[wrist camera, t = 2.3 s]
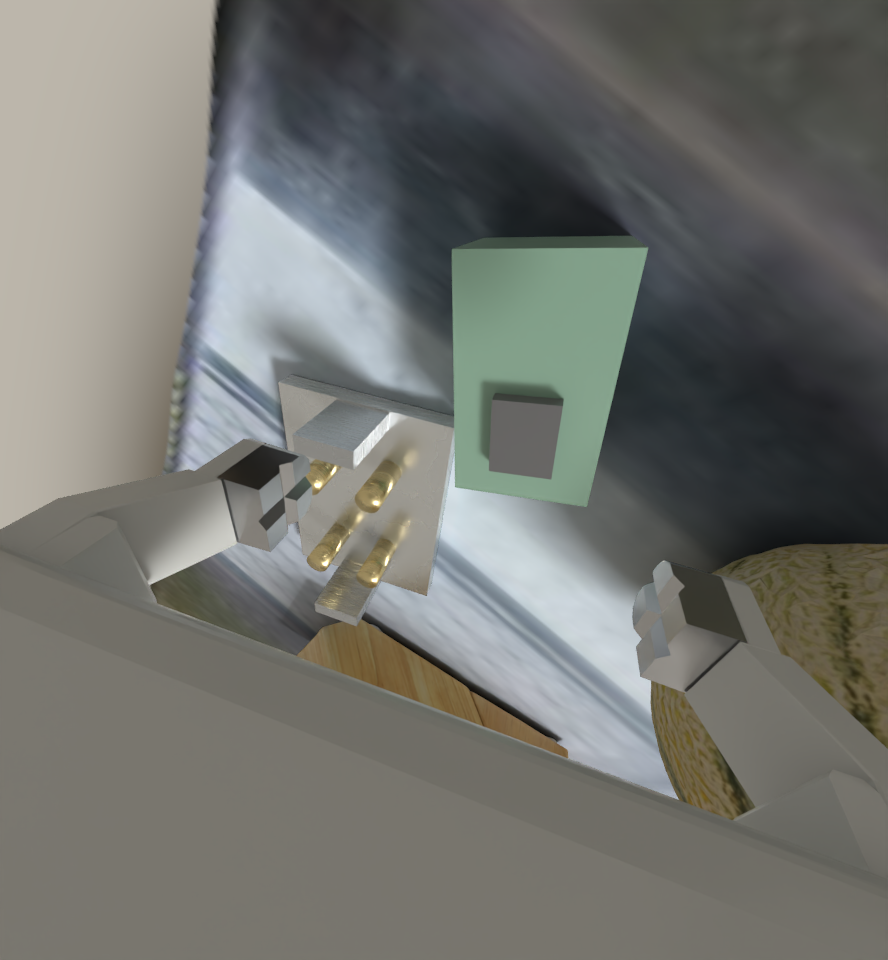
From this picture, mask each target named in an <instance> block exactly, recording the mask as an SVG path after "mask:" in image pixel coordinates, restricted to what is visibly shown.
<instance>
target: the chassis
mask: <svg viewBox="0 0 888 960" xmlns="http://www.w3.org/2000/svg"><path fill="white" fill-rule="evenodd" d="M278 385H279V392H280V399H281V406H282V413H283V420H284V427H285V434H286V441H287V447H288V450H290V451H293V452H296V453H299V454H302V455H305V456H306V457H307V458H308V459H309V462H310V470H311V471H310V472H309V473H308V474H307V475H306V478H307V479H308V481H309V482H310V484H311V485H312V499H311V504H310V506H309V508H308V510H307V512H306V514H305V515H304V516H303V517H302V518H301V519H300V521H298V524H299V531H300V538H301V545H302V552H303V555H306V556H308V557H307V562H308V564H309V565H310V566H311V567H312V568H313V569H315V570H317V571H325V570H326V569H327V568H328V567H329V565H330V564H333V565H336V566H339V567H338V569H337V570H336V572H335V573H334V575H333V576H332V578H331V579H330V580H329V582H328V583H327V585H326V586H325V588H324V589H323V591H322V592H321V594H320V595H319V597H318V598H317V600H316V601H315V603H314V604H315V611H316V612H318V613H321V614H323V615H326V616H329V617H332V618H335V619H337V620H340V621H343V622H346V623H348V624H351V625H354V626H357V625H358V623H359V621H360V620H361V618H362V616H363V614H364V612H365V610H366V608H367V607H368V605H369V603H370V601H371V599H372V597H373V596H374V594H375V592H376V590H377V588H378V586H379V584H380V583H381V581H384V582H387V583H389V584H392V585H395V586H398V587H401V588H404V589H407V590H410V591H413V592H416V593H419V594H422V595H425V596H427V594H428V591H429V589H430V586H431V584H432V579H433V573H434V567H435V561H436V556H437V550H438V544H439V538H440V532H441V526H442V520H443V515H444V509H445V503H446V497H447V491H448V485H449V480H450V474H451V468H452V462H453V456H454V450H455V441H454V416H450V415H446V414H443V413H439V412H435V411H431V410H427V409H423V408H419V407H415V406H411V405H408V404H404V403H400V402H396V401H392V400H388V399H384V398H380V397H377V396H373V395H369V394H365V393H361V392H357V391H353V390H349V389H345V388H342V387H338V386H334V385H330V384H326V383H322V382H318V381H314V380H311V379H307V378H303V377H299V376H295V375H290V376H288V377H286V378H284V379H283V380H281V381H279V382H278Z"/></svg>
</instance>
